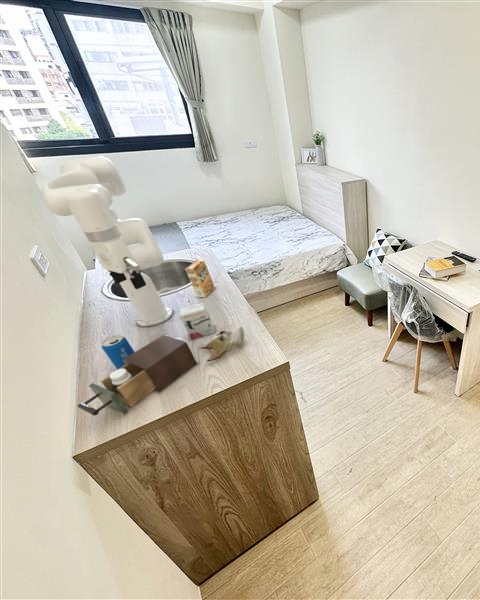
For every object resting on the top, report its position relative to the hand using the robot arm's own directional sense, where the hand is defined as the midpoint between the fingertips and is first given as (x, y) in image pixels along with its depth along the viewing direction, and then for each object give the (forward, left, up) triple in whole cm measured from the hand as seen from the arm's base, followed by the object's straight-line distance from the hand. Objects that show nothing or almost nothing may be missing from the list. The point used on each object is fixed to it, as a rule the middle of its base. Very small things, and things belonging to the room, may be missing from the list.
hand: (131, 284), depth 102 cm
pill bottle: (+11, -19, -26) cm, 34 cm away
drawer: (+11, -21, -27) cm, 36 cm away
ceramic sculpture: (+21, +8, -28) cm, 36 cm away
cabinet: (+12, -8, -28) cm, 32 cm away
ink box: (+4, +12, -28) cm, 31 cm away
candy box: (-21, +35, -28) cm, 50 cm away
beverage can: (-4, -11, -28) cm, 31 cm away
